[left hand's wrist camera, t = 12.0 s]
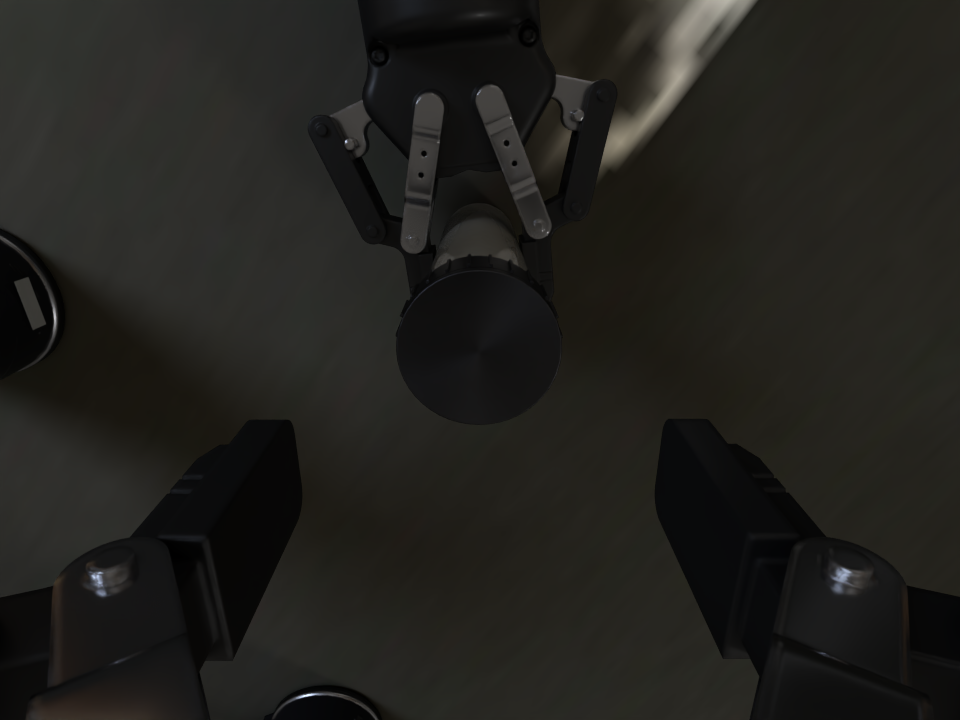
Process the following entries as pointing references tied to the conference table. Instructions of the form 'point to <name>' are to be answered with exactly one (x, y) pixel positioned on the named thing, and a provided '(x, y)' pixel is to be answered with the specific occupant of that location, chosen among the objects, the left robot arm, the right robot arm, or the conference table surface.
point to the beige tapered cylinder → (479, 236)
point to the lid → (479, 340)
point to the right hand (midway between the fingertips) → (485, 314)
